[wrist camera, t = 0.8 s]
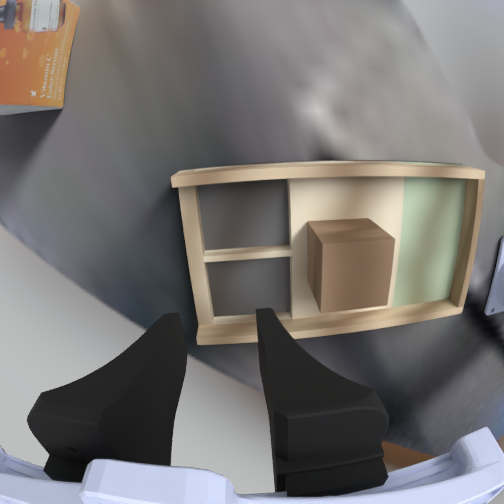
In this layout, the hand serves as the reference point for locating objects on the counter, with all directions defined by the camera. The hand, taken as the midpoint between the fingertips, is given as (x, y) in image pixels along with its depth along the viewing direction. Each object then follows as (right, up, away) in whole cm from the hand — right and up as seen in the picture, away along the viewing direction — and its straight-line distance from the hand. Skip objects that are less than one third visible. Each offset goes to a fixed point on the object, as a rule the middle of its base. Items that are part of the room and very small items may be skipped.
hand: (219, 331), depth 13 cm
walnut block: (+7, +3, +7) cm, 10 cm away
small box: (-14, +17, +3) cm, 22 cm away
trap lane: (+7, +4, +9) cm, 12 cm away
